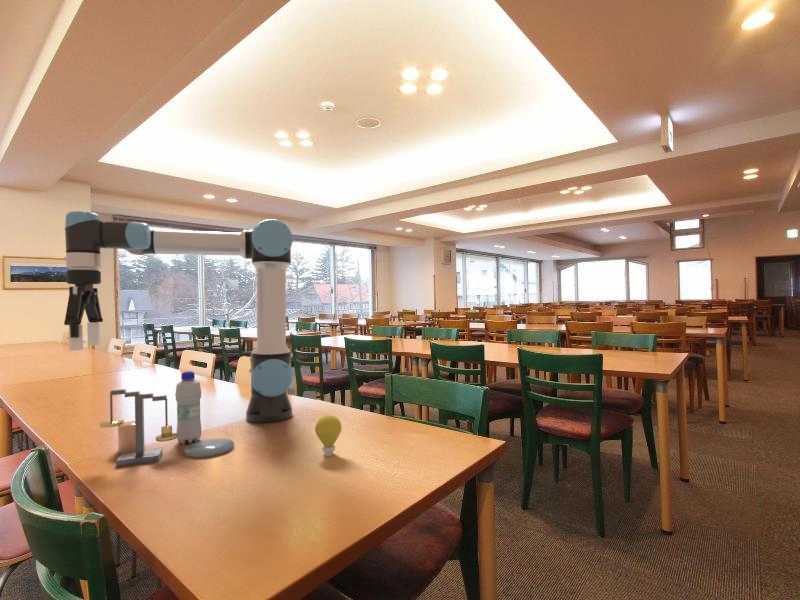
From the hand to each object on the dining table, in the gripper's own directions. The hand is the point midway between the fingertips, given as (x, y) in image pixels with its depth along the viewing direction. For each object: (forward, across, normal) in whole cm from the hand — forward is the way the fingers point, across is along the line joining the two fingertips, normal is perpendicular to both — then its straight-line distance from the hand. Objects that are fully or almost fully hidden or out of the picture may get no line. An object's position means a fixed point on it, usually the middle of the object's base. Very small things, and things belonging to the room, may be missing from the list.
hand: (85, 347), depth 114 cm
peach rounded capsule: (+28, +5, +11) cm, 30 cm away
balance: (+28, +15, +15) cm, 35 cm away
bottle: (+28, +4, +25) cm, 38 cm away
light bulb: (+28, +30, +60) cm, 73 cm away
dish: (+28, +14, +31) cm, 44 cm away
